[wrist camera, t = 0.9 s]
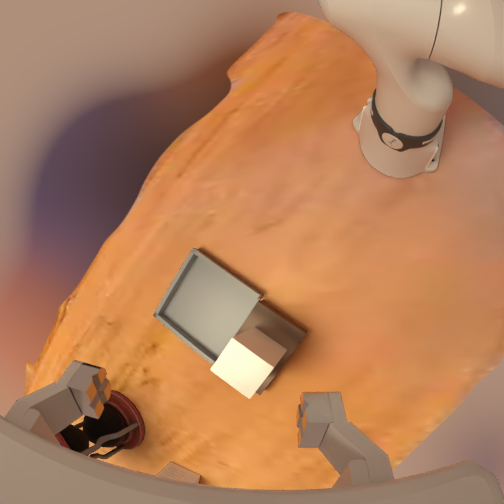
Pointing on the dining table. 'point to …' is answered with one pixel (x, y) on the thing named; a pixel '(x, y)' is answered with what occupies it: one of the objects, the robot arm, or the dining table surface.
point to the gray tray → (206, 305)
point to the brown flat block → (273, 333)
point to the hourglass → (106, 429)
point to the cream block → (248, 360)
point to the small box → (178, 473)
